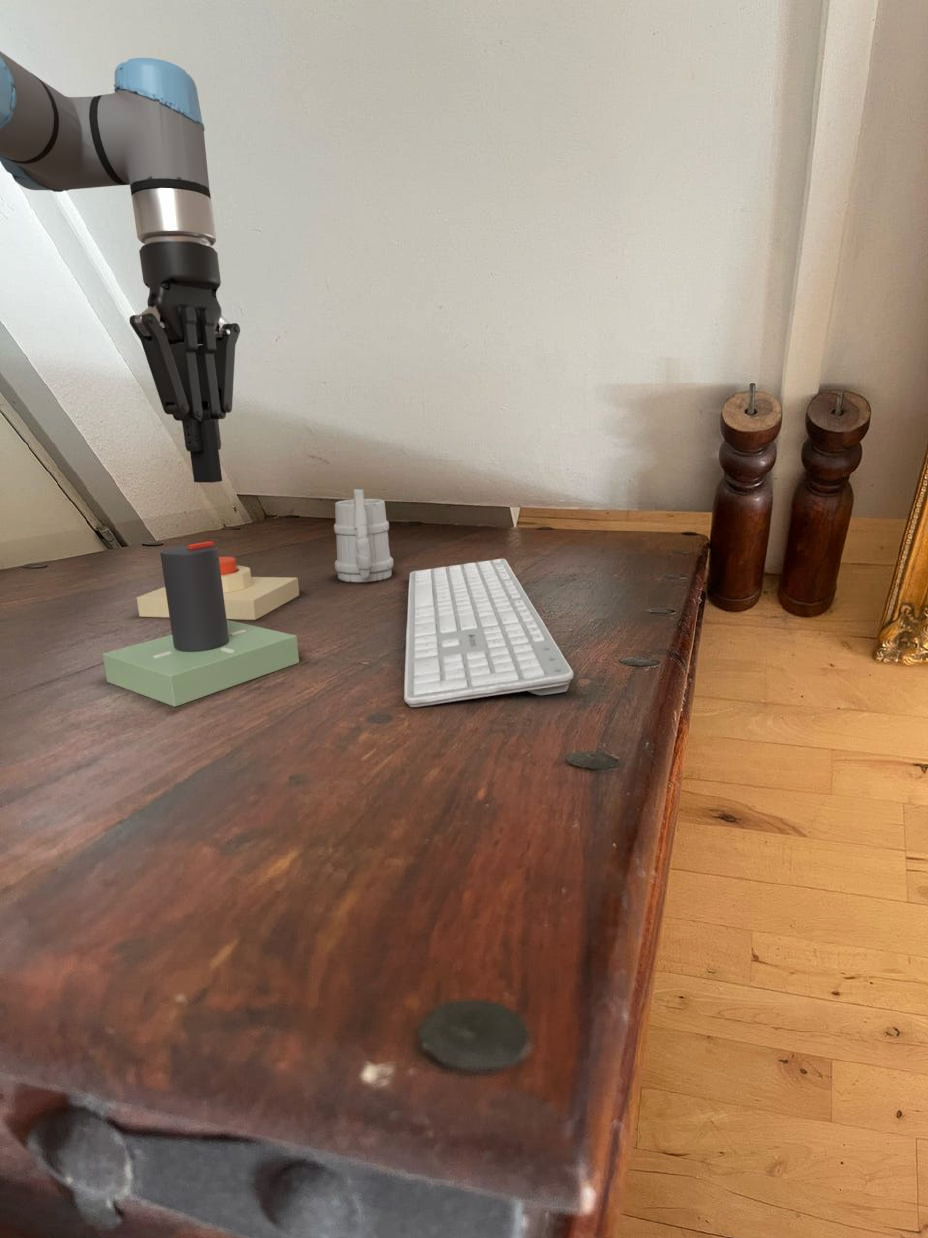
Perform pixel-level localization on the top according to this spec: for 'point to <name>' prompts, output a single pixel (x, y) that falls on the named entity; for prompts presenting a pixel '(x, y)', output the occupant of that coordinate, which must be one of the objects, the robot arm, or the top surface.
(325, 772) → the top surface
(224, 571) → the switch
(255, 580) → the button base
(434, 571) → the keyboard
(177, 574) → the dial
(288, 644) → the dial panel
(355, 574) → the mug
